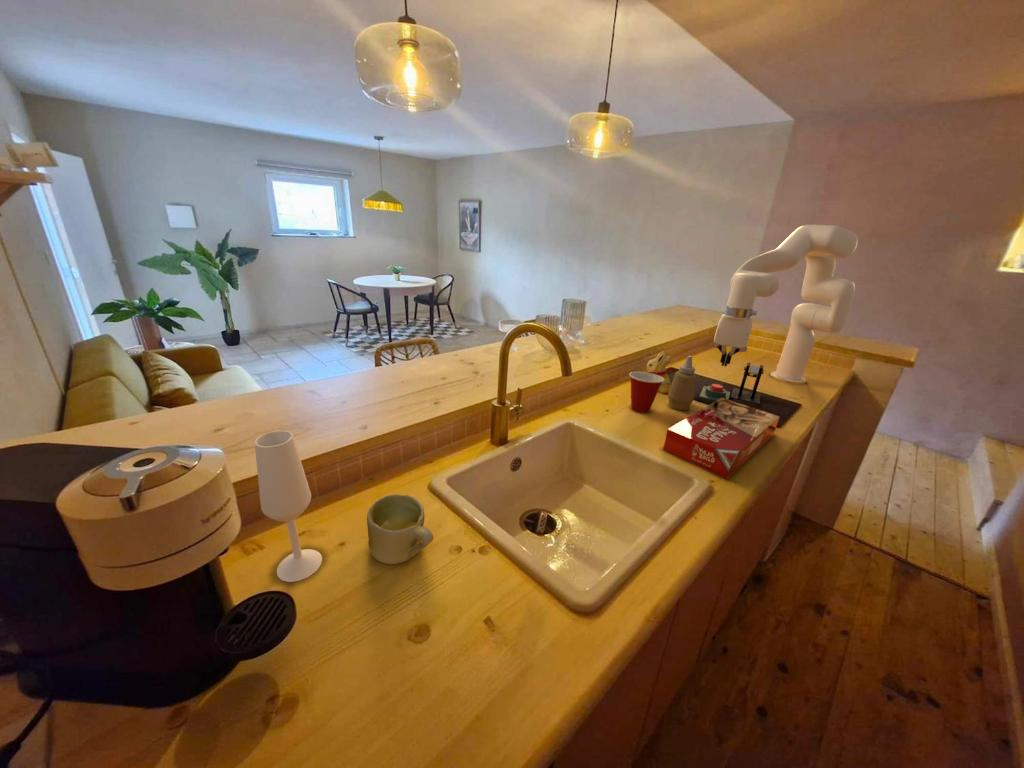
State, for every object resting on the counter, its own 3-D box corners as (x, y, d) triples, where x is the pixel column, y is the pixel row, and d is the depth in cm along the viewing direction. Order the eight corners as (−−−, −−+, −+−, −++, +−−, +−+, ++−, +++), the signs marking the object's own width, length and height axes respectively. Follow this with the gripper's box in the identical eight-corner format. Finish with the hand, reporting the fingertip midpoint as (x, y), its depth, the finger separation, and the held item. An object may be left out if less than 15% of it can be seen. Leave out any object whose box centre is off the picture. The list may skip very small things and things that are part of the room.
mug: (345, 540, 67) (363, 493, 65) (395, 525, 75) (412, 483, 73) (381, 594, 60) (402, 545, 58) (431, 572, 69) (452, 528, 66)
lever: (742, 376, 148) (744, 370, 148) (757, 379, 146) (759, 373, 146) (745, 371, 137) (746, 364, 137) (761, 374, 135) (763, 367, 135)
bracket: (732, 390, 148) (741, 358, 143) (759, 396, 144) (770, 364, 139) (730, 400, 139) (739, 366, 135) (758, 407, 135) (770, 372, 130)
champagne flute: (315, 543, 69) (293, 422, 60) (327, 567, 64) (306, 441, 55) (272, 562, 65) (241, 435, 56) (282, 589, 60) (251, 456, 51)
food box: (716, 415, 127) (721, 397, 125) (773, 435, 116) (779, 416, 113) (663, 449, 105) (667, 429, 103) (726, 478, 94) (733, 456, 91)
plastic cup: (659, 406, 131) (666, 373, 126) (655, 419, 122) (663, 384, 117) (626, 399, 135) (632, 367, 130) (620, 411, 126) (626, 377, 121)
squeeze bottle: (693, 413, 127) (706, 361, 120) (667, 410, 129) (679, 358, 122) (688, 403, 135) (700, 354, 128) (663, 400, 136) (674, 351, 129)
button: (711, 387, 140) (712, 383, 139) (722, 390, 138) (723, 385, 138) (710, 390, 137) (711, 386, 137) (721, 393, 136) (722, 388, 135)
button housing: (702, 391, 146) (704, 381, 145) (729, 397, 142) (731, 387, 140) (697, 401, 137) (700, 391, 135) (726, 408, 132) (729, 398, 131)
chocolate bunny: (647, 382, 151) (654, 345, 146) (672, 392, 143) (681, 353, 138) (636, 386, 147) (643, 348, 142) (662, 396, 139) (671, 356, 134)
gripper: (764, 314, 127) (749, 366, 134) (714, 307, 134) (702, 358, 141) (764, 318, 121) (748, 373, 128) (711, 311, 128) (699, 363, 135)
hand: (724, 365), depth 135 cm, fingers closed
